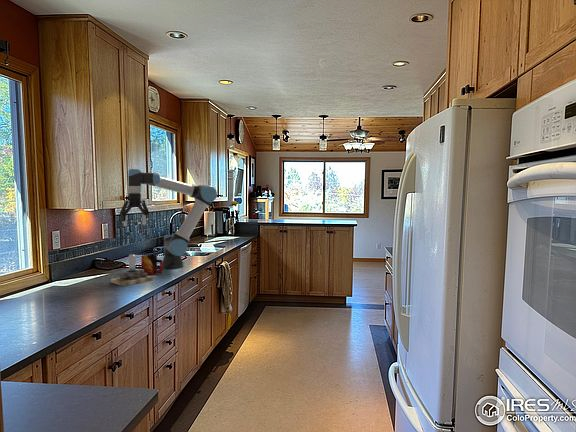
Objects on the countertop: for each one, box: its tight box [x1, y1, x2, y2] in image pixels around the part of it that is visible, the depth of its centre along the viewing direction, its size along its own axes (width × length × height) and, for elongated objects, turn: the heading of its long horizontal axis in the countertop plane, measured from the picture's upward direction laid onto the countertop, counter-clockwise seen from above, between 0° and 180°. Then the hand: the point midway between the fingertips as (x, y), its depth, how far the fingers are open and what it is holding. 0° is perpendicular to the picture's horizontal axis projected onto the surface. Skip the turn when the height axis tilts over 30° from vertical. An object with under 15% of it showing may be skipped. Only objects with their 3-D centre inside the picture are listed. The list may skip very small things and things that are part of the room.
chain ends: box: [110, 268, 154, 287], centre depth 231 cm, size 19×14×6 cm
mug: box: [141, 254, 163, 276], centre depth 252 cm, size 10×14×12 cm
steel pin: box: [128, 254, 136, 273], centre depth 231 cm, size 4×4×14 cm
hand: (134, 225), depth 251 cm, fingers open, 13 cm apart
